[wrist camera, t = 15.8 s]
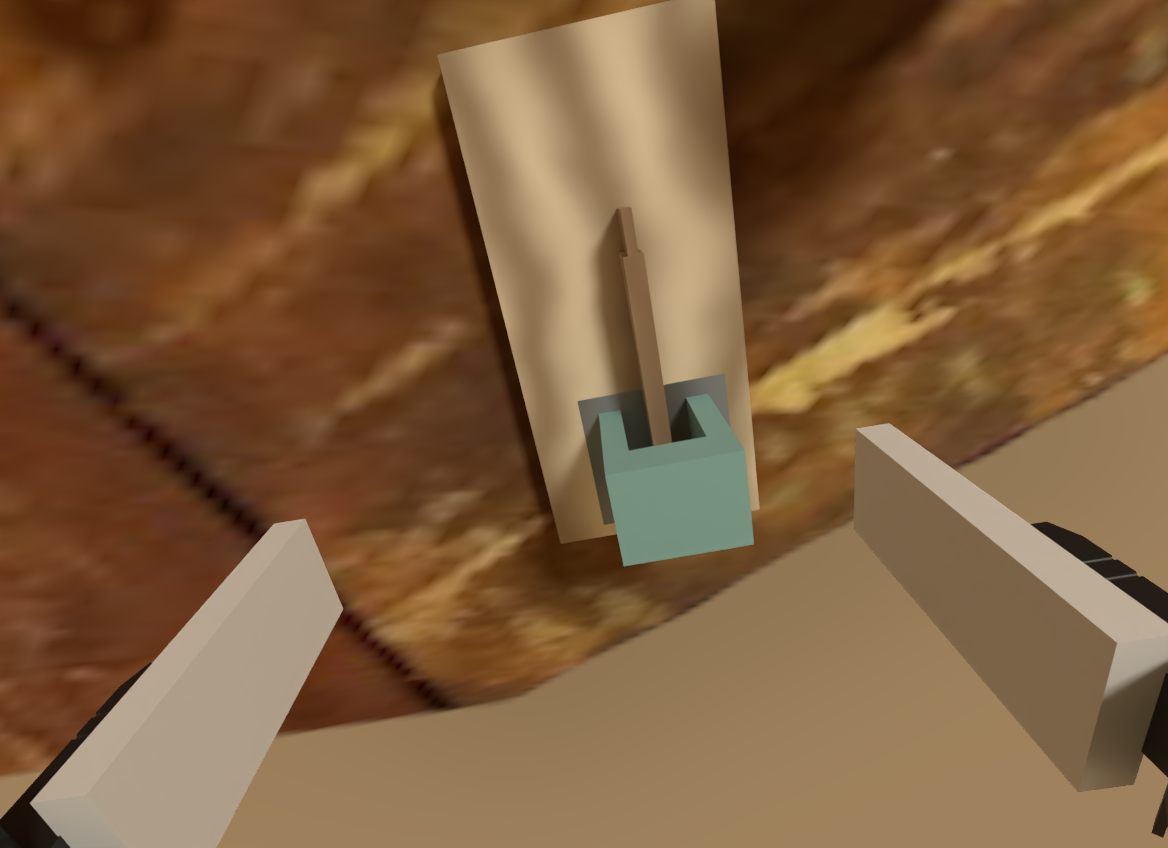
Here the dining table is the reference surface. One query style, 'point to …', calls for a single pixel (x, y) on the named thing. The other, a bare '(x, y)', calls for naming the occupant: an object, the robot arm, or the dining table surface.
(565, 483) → the board
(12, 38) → the dining table surface
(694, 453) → the bracket
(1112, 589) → the robot arm
